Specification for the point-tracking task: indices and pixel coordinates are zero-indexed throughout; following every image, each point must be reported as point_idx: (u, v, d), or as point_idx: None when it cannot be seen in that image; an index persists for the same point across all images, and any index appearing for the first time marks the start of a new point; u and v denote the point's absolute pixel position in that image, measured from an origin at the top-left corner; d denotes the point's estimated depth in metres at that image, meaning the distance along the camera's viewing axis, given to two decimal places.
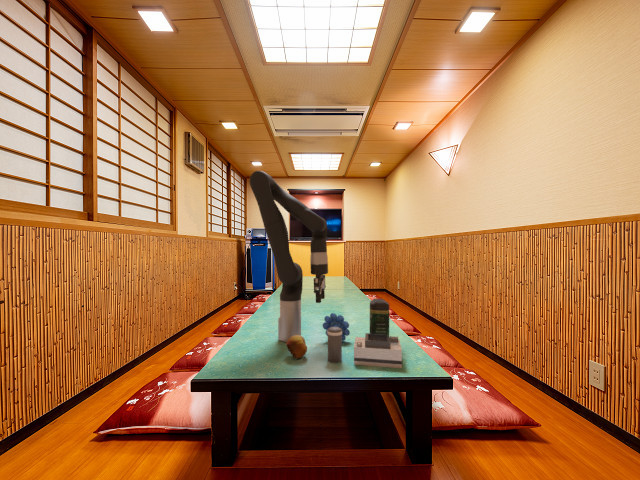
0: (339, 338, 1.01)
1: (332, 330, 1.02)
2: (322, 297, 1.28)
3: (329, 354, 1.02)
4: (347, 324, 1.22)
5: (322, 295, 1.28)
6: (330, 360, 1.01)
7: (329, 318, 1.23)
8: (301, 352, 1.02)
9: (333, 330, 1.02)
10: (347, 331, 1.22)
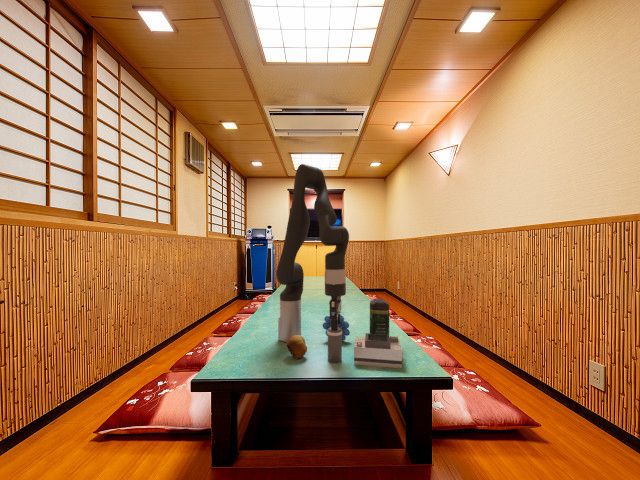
0: (339, 338, 1.01)
1: None
2: (337, 322, 1.07)
3: (329, 354, 1.02)
4: (347, 324, 1.22)
5: (337, 319, 1.07)
6: (330, 360, 1.01)
7: (329, 318, 1.23)
8: (301, 352, 1.02)
9: None
10: (347, 331, 1.22)
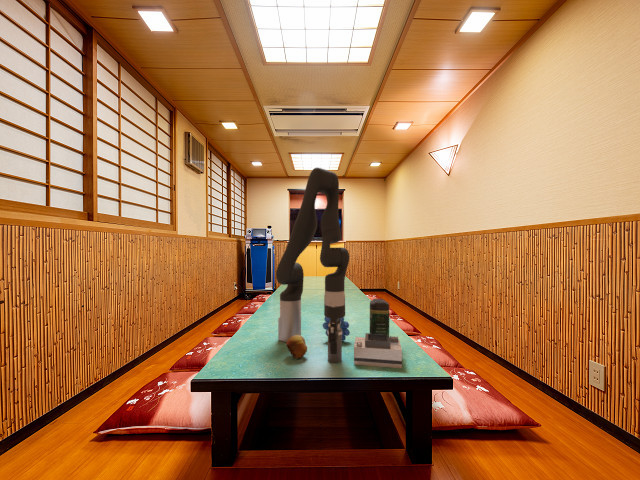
0: (339, 338, 1.01)
1: None
2: None
3: (329, 354, 1.02)
4: (347, 324, 1.22)
5: None
6: (330, 360, 1.01)
7: (329, 318, 1.23)
8: (301, 352, 1.02)
9: None
10: (347, 331, 1.22)
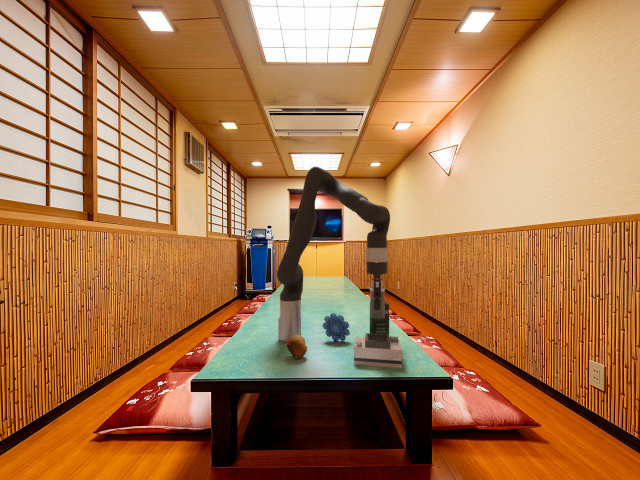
0: (382, 294, 1.02)
1: None
2: None
3: (372, 310, 1.02)
4: (347, 324, 1.22)
5: None
6: (373, 316, 1.02)
7: (329, 318, 1.23)
8: (301, 352, 1.02)
9: None
10: (347, 331, 1.22)
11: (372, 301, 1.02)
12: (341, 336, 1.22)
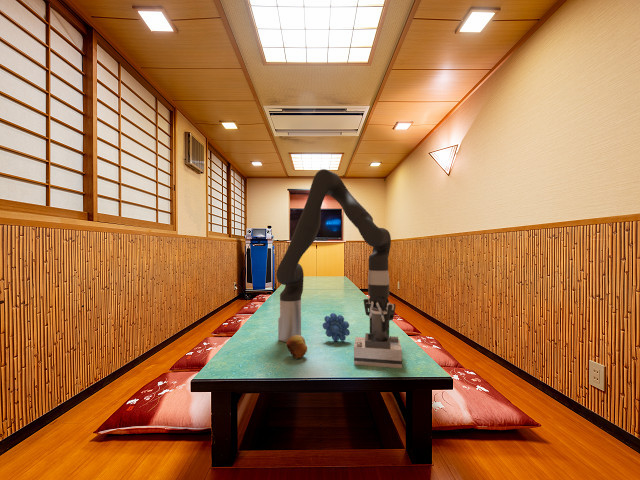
0: None
1: None
2: None
3: (379, 333, 1.02)
4: (347, 324, 1.22)
5: None
6: (381, 339, 1.02)
7: (329, 318, 1.23)
8: (301, 352, 1.02)
9: None
10: (347, 331, 1.22)
11: (379, 324, 1.02)
12: (341, 336, 1.22)
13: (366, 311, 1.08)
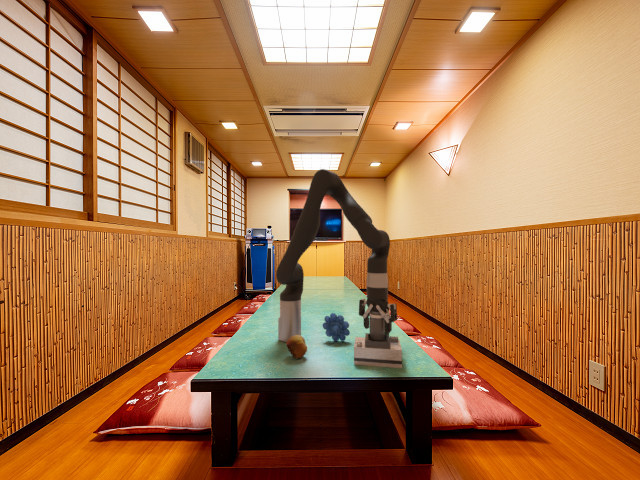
0: None
1: None
2: (368, 326, 1.06)
3: (379, 337, 1.01)
4: (347, 324, 1.22)
5: (368, 324, 1.06)
6: None
7: (329, 318, 1.23)
8: (301, 352, 1.02)
9: None
10: (347, 331, 1.22)
11: (379, 328, 1.01)
12: (341, 336, 1.22)
13: (360, 312, 1.07)
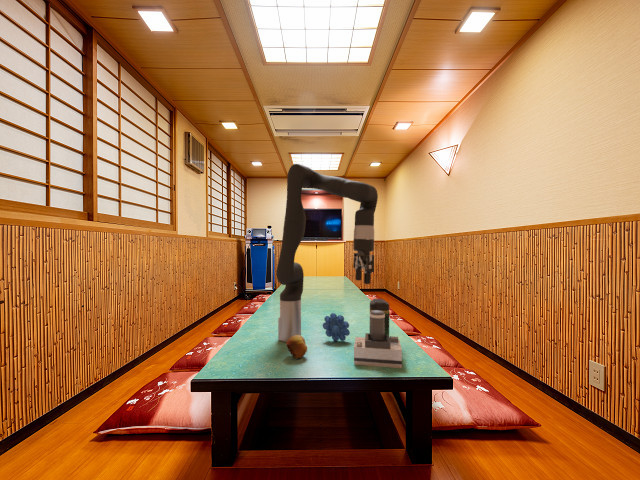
0: None
1: (381, 313, 1.02)
2: (359, 278, 1.11)
3: (379, 337, 1.01)
4: (347, 324, 1.22)
5: (359, 276, 1.11)
6: None
7: (329, 318, 1.23)
8: (301, 352, 1.02)
9: (381, 312, 1.02)
10: (347, 331, 1.22)
11: (379, 328, 1.01)
12: (341, 336, 1.22)
13: (353, 264, 1.13)
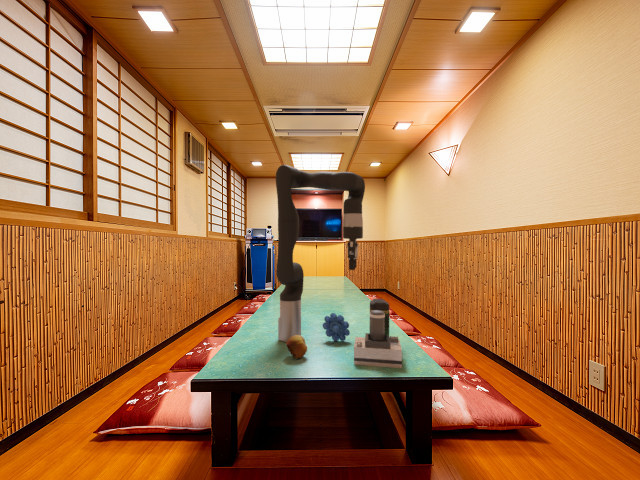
0: None
1: (381, 313, 1.02)
2: None
3: (379, 337, 1.01)
4: (347, 324, 1.22)
5: None
6: None
7: (329, 318, 1.23)
8: (301, 352, 1.02)
9: (381, 312, 1.02)
10: (347, 331, 1.22)
11: (379, 328, 1.01)
12: (341, 336, 1.22)
13: None
